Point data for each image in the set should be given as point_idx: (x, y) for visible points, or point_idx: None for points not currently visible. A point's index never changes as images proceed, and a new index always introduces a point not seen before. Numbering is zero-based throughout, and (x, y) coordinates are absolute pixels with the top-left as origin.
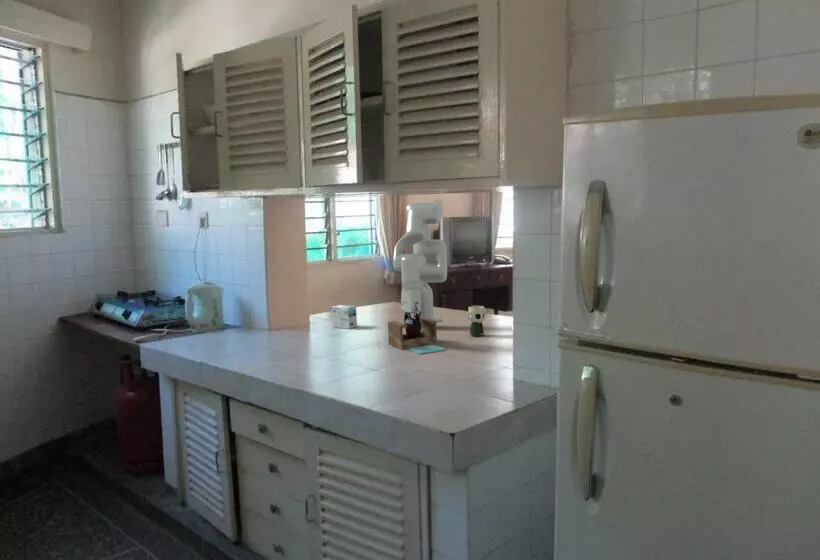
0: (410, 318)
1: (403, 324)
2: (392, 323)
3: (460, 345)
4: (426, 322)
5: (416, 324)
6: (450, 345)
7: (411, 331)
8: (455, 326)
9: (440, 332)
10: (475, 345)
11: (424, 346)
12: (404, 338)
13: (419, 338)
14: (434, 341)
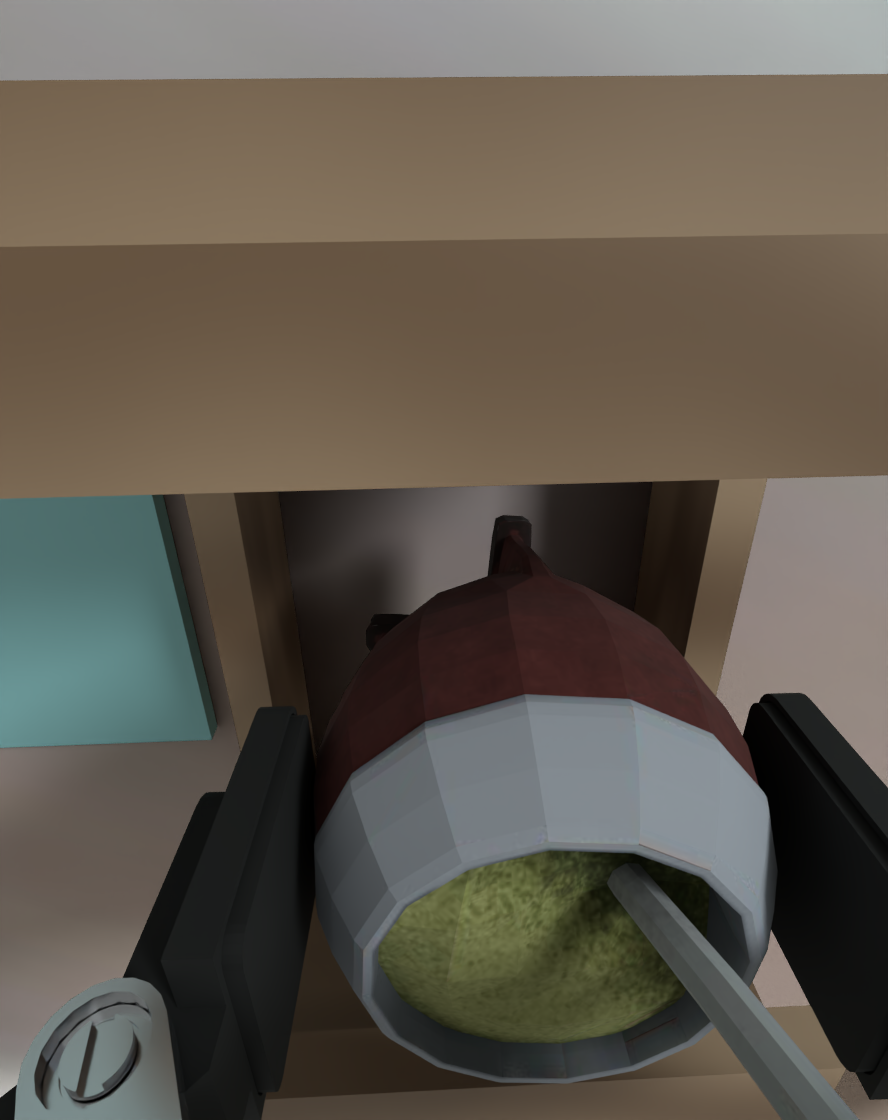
0: (662, 954)
1: (51, 429)
2: (754, 84)
3: (119, 921)
4: (343, 1047)
5: (195, 841)
6: (163, 859)
7: (388, 635)
8: (884, 1112)
9: (796, 983)
10: (64, 1000)
11: (144, 602)
12: (677, 529)
13: (227, 640)
14: None
